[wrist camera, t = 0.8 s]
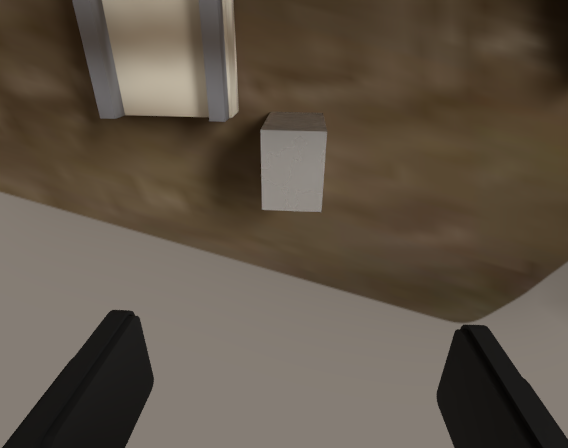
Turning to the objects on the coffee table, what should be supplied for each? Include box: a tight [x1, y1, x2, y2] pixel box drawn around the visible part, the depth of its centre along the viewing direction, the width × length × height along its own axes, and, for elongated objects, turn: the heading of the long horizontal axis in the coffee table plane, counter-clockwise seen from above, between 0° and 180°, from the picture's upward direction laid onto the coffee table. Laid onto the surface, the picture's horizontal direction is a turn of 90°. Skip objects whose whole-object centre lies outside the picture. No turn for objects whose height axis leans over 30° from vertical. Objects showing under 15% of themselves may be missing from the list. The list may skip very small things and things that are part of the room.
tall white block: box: [260, 112, 327, 212], centre depth 27 cm, size 6×4×7 cm
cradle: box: [72, 0, 239, 122], centre depth 25 cm, size 12×10×4 cm
